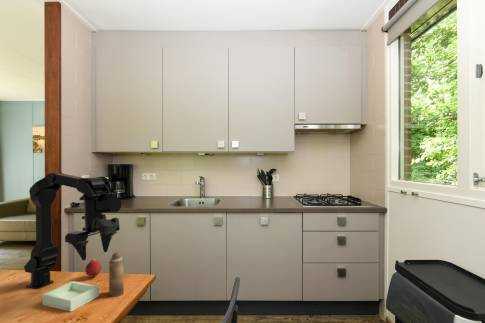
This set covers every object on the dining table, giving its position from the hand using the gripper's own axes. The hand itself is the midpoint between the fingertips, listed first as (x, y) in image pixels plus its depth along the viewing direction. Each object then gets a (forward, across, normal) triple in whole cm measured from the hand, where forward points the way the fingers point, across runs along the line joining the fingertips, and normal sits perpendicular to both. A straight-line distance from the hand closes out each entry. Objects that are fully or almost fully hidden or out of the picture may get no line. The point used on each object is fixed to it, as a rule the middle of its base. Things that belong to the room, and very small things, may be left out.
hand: (95, 256), depth 100 cm
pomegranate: (+14, +12, +15) cm, 23 cm away
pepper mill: (+14, +4, -5) cm, 16 cm away
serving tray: (+14, -5, +6) cm, 16 cm away
